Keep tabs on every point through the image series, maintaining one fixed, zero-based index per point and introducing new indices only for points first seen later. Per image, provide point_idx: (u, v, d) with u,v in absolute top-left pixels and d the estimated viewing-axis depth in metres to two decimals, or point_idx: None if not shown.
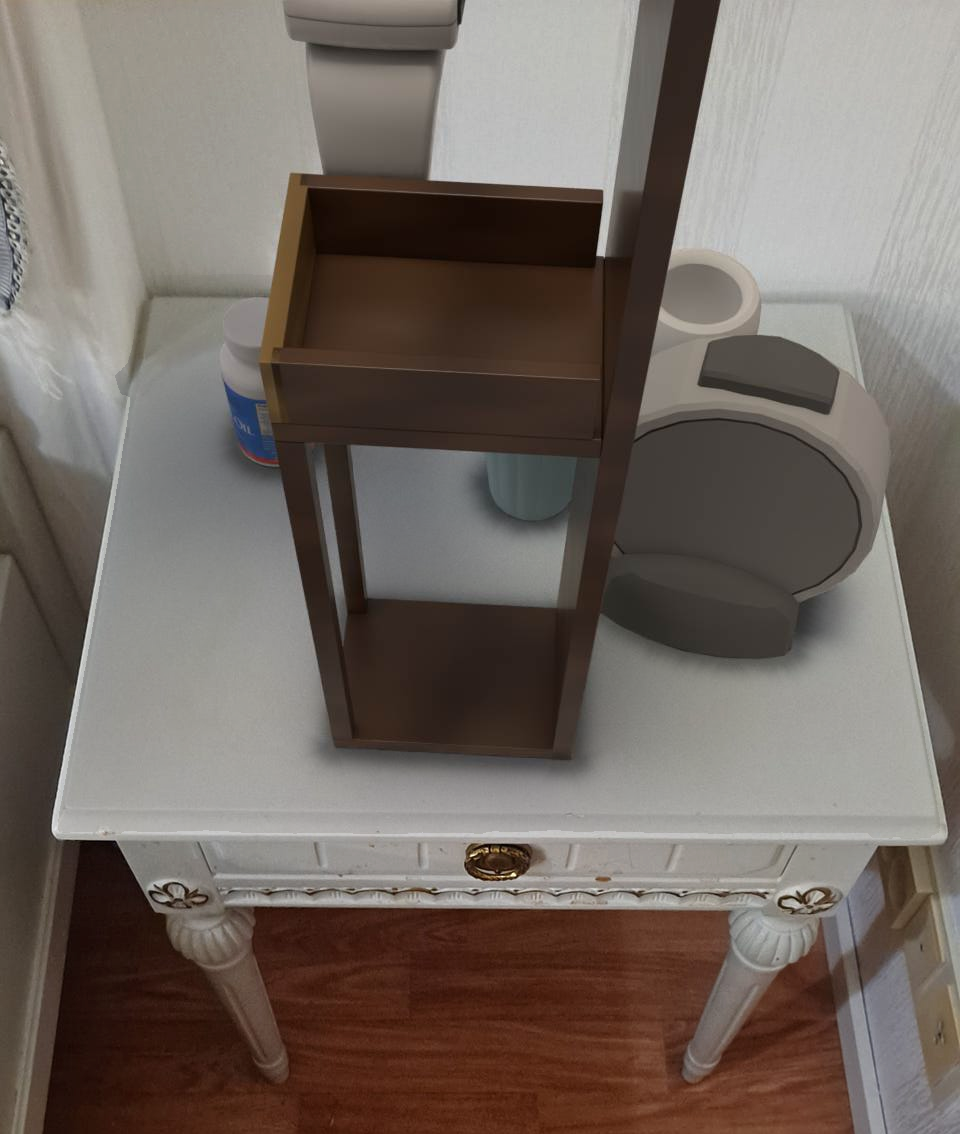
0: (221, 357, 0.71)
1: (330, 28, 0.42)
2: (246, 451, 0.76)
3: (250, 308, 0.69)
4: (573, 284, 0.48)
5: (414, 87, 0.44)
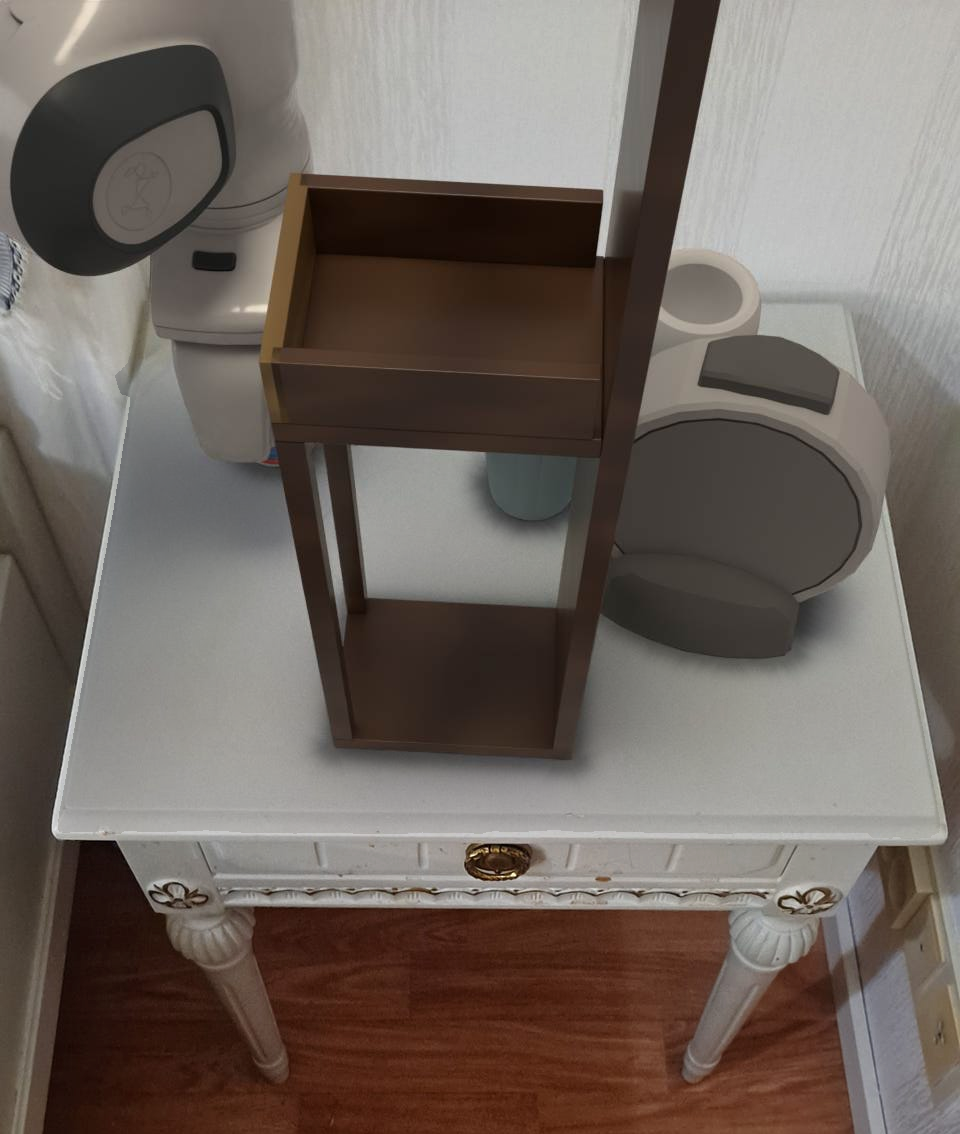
0: None
1: (185, 333, 0.59)
2: None
3: None
4: (573, 284, 0.48)
5: (249, 368, 0.61)
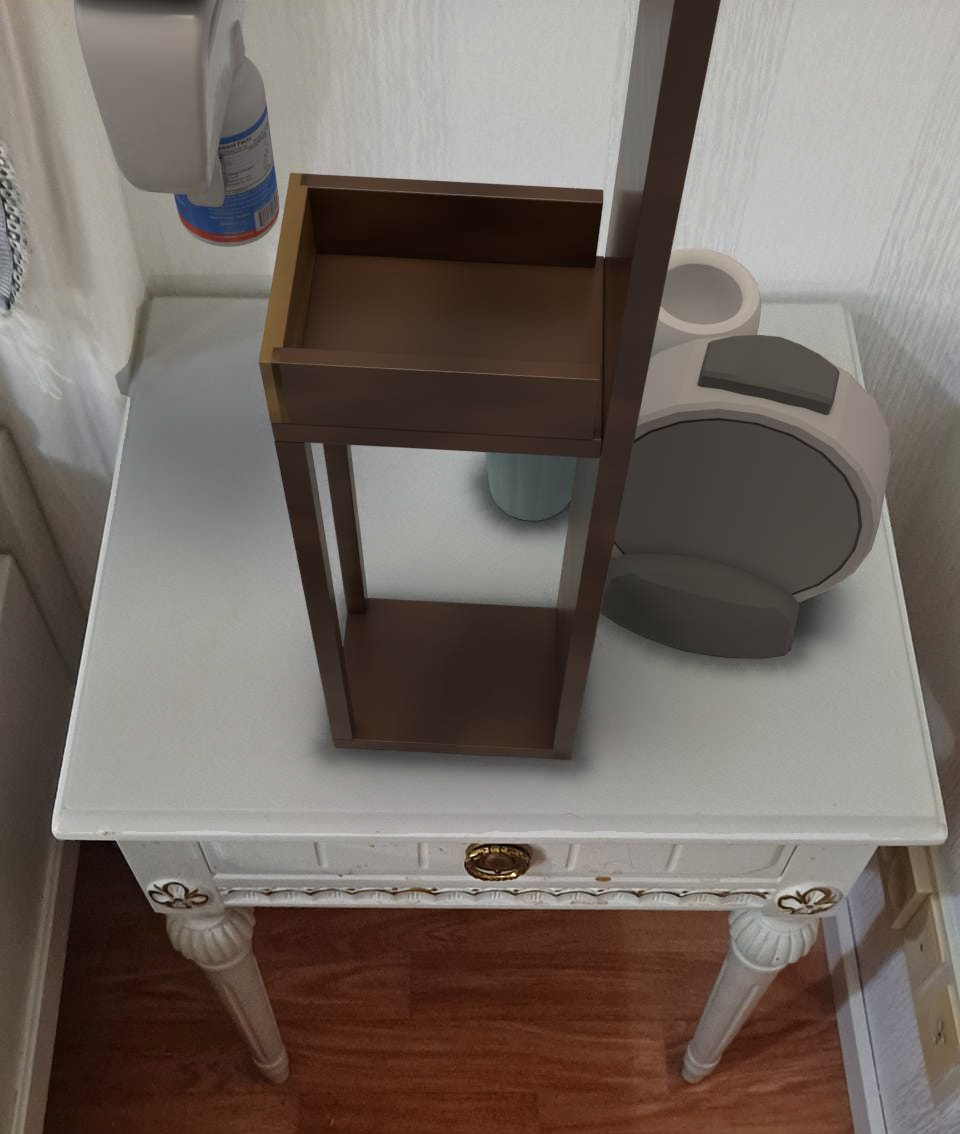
0: None
1: None
2: (189, 225, 0.61)
3: None
4: (573, 284, 0.48)
5: (179, 35, 0.45)
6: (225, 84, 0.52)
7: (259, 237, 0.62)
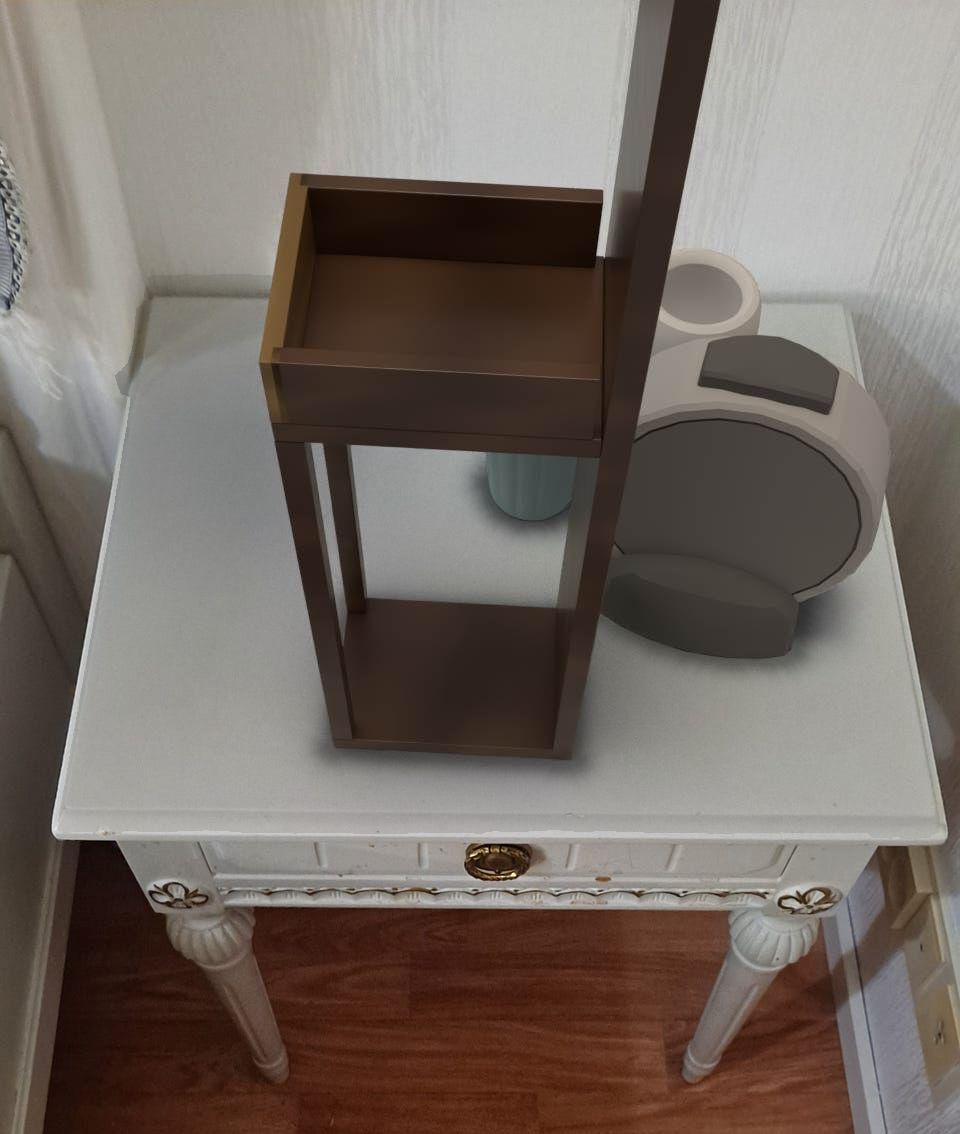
0: None
1: None
2: None
3: None
4: (573, 284, 0.48)
5: None
6: None
7: None
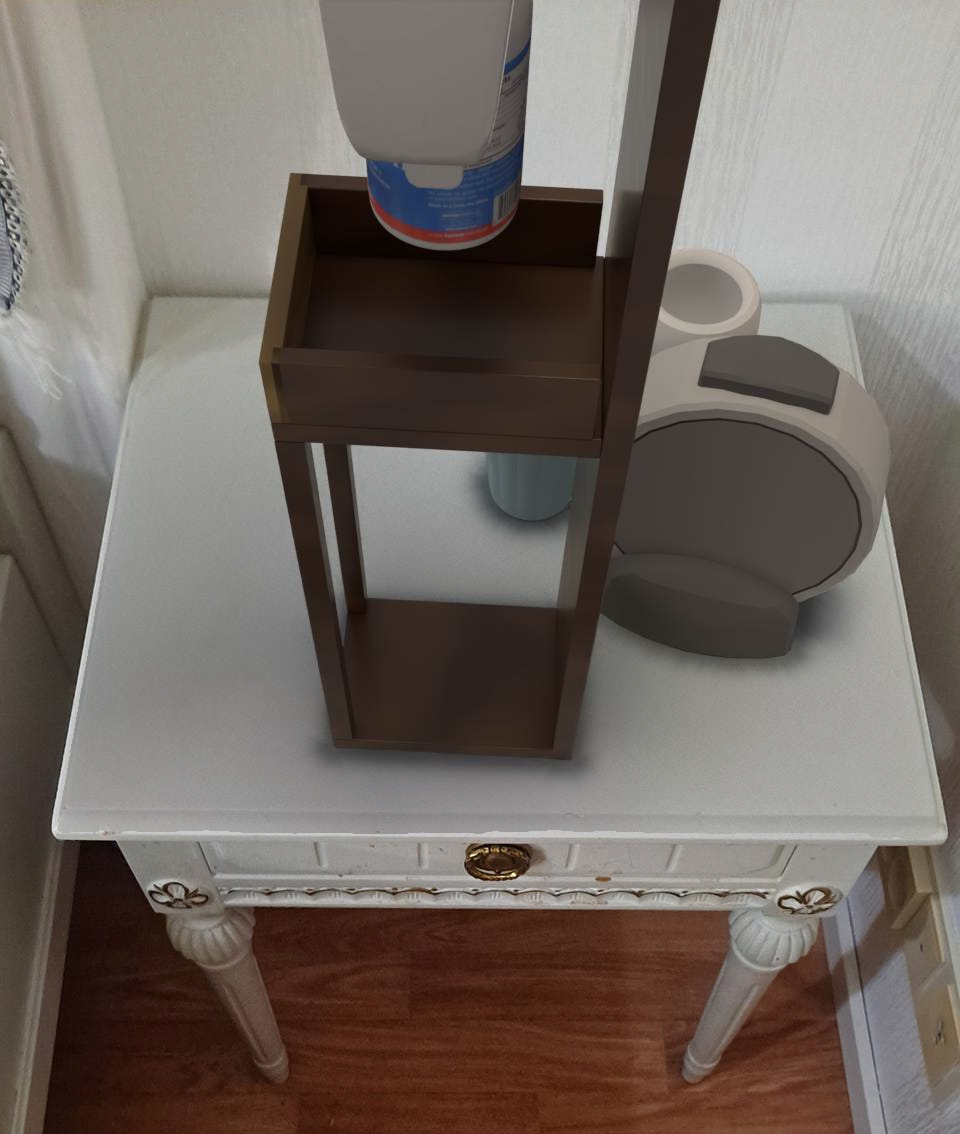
0: None
1: None
2: (390, 219, 0.40)
3: None
4: (573, 284, 0.48)
5: None
6: None
7: (494, 235, 0.41)
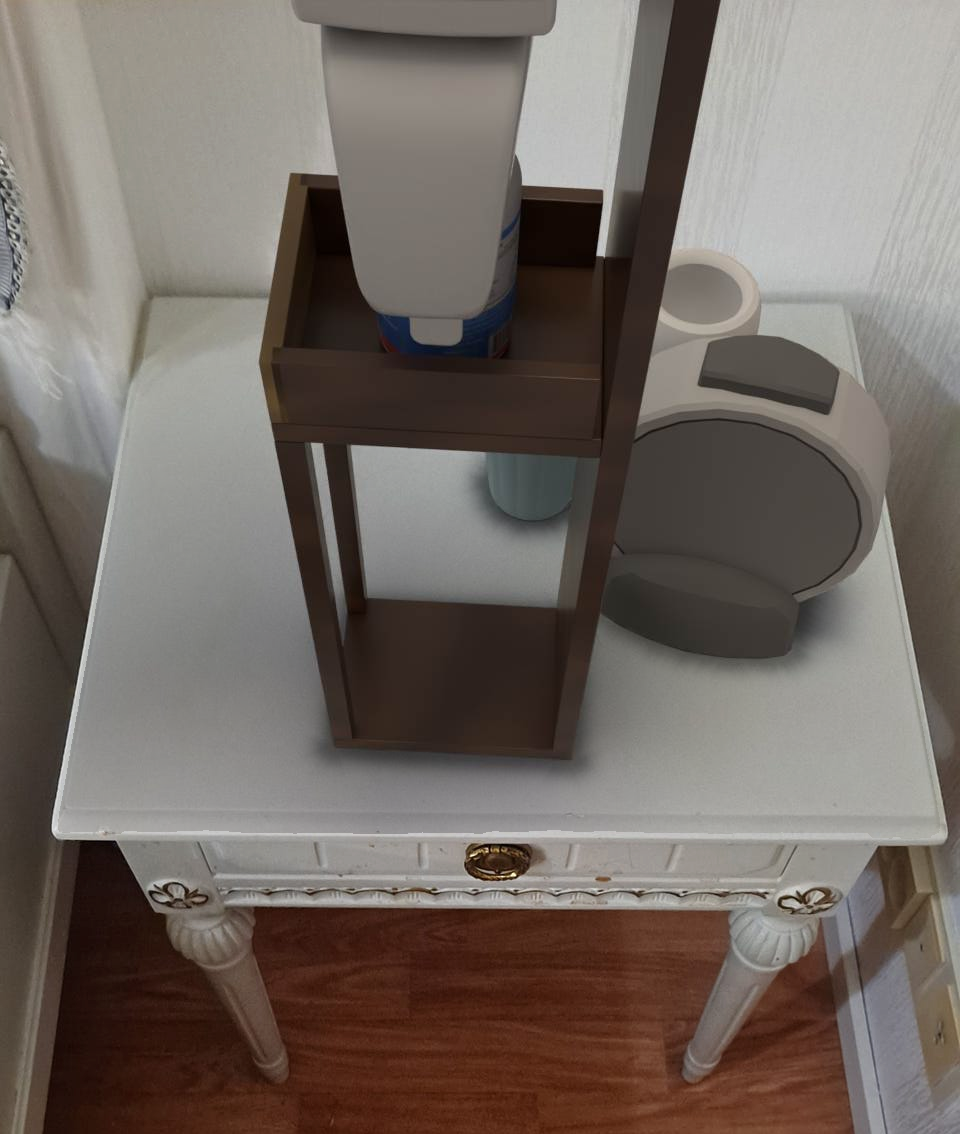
0: None
1: (360, 2, 0.27)
2: None
3: None
4: (573, 284, 0.48)
5: (487, 93, 0.29)
6: None
7: None
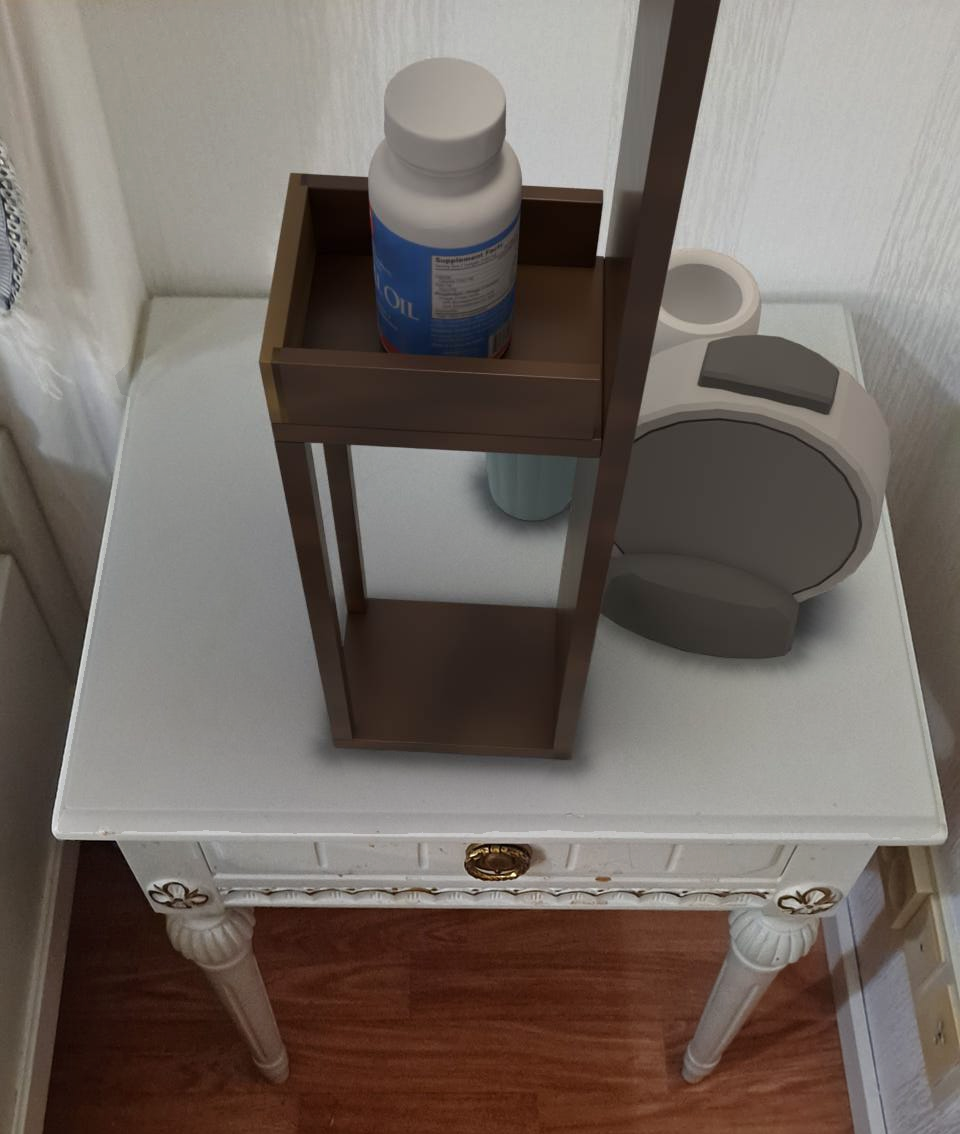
0: (373, 172, 0.40)
1: None
2: None
3: (433, 75, 0.38)
4: (573, 284, 0.48)
5: None
6: None
7: None
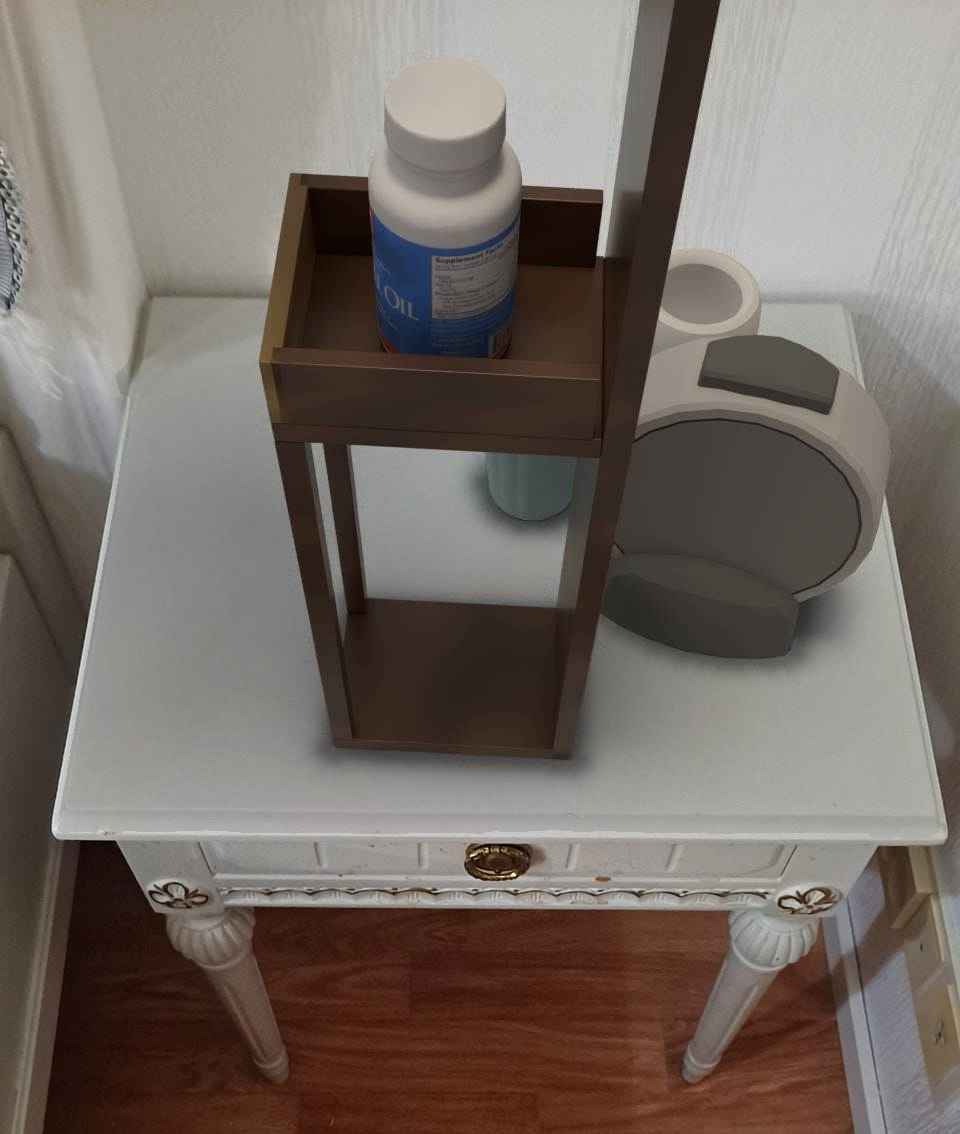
0: (373, 172, 0.40)
1: None
2: None
3: (433, 75, 0.38)
4: (573, 284, 0.48)
5: None
6: None
7: None
